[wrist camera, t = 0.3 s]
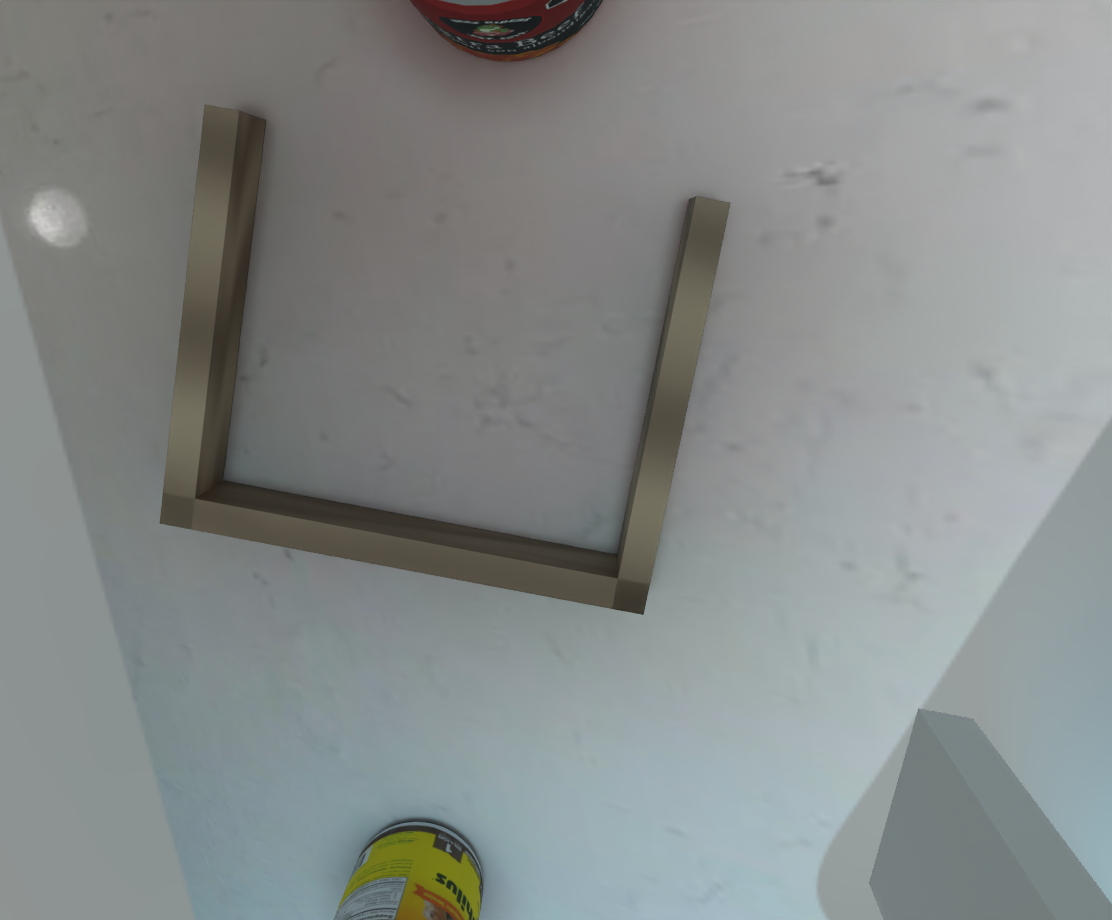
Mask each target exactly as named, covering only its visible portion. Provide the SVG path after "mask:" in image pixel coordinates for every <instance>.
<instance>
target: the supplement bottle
mask: <svg viewBox="0 0 1112 920" xmlns="http://www.w3.org/2000/svg"><path fill="white" fill-rule="evenodd" d="M482 896H483V876H482V871H481V867H480V864H479V862H478V859H477V858H476V856H475V854H474V852H473V851H472V850H471V848H470V847H469V846H468V845H467V843H466V842H465V841H464V840H462V839H461V838H460V837H459V836H458V835H456V834H455V833H453V832H451V831H450V830H448V829H446V828H444V827H441V826H439V825H435V824H431V823H426V822H408V823H402V824H398V825H395V826H392V827H390V828H388V829H386V830H384V831H382V832H381V833H379V834H378V835H377V836H375V837H374V838H373V839H372V840H371V841H370V842H369V843H368V844H367V845H366V847H365V848H364V850H363V851H362V853H361V854H360V856H359V858H358V861H357V863H356V865H355V868H354V870H353V873H352V875H351V878H350V880H349V883H348V885H347V887H346V890H345V892H344V895H343V897H342V900H341V902H340V905H339V907H338V910H337V912H336V915H335V917H334V920H478V919H479V913H480V909H481V902H482Z"/></svg>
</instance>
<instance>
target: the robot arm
mask: <svg viewBox="0 0 1112 920" xmlns="http://www.w3.org/2000/svg"><path fill="white" fill-rule="evenodd" d="M869 884H870V886H871V889H872V891H873V894H874V896H875V899H876V901H877V904H878V906H879V909H880V911H881V914H882V916H883V919H884V920H1112V904H1111V902H1110V901H1109V900H1108V898H1107V897H1106V896H1105V894H1104V893H1103V892H1102V890H1101V889H1100V888H1099V886H1098V885H1097V884H1096V882H1095V881H1094V880H1093V878H1092V877H1091V876H1090V874H1089V873H1088V872H1087V870H1086V869H1085V868H1084V866H1083V865H1082V864H1081V862H1080V861H1079V860H1078V858H1077V857H1076V856H1075V854H1074V853H1073V852H1072V850H1071V849H1070V848H1069V846H1068V845H1067V844H1066V842H1065V841H1064V840H1063V838H1062V837H1061V836H1060V834H1059V833H1058V832H1057V831H1056V829H1055V828H1054V826H1053V825H1052V824H1051V822H1050V821H1049V820H1048V818H1047V817H1046V816H1045V814H1044V813H1043V812H1042V810H1041V809H1040V808H1039V806H1038V805H1037V804H1036V802H1035V801H1034V800H1033V798H1032V797H1031V796H1030V794H1029V793H1028V791H1027V790H1026V789H1025V787H1024V786H1023V785H1022V783H1020V781H1019V779H1018V778H1017V777H1016V776H1015V774H1014V773H1013V772H1012V770H1011V769H1010V768H1009V766H1008V765H1007V764H1006V762H1005V761H1004V759H1003V758H1002V757H1001V755H1000V754H999V753H998V751H997V750H996V749H995V747H994V746H993V745H992V743H991V742H990V741H989V739H988V738H987V737H986V735H985V734H984V733H983V731H982V730H981V729H980V727H979V726H978V725H977V723H976V722H975V721H974V719H971V718H966V717H961V716H956V715H950V714H945V713H940V712H935V711H929V710H924V709H919V708H918V712H917V715H916V719H915V722H914V726H913V729H912V733H911V736H910V740H909V744H908V747H907V751H906V754H905V758H904V761H903V765H902V768H901V772H900V775H899V779H898V782H897V786H896V790H895V793H894V797H893V800H892V804H891V807H890V811H889V814H888V818H887V822H886V825H885V829H884V832H883V836H882V839H881V843H880V846H879V850H878V853H877V857H876V860H875V864H874V868H873V871H872V875H871V878H870V882H869Z"/></svg>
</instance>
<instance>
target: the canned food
mask: <svg viewBox="0 0 1112 920" xmlns="http://www.w3.org/2000/svg"><path fill="white" fill-rule="evenodd" d="M410 1H411V2H412V4H413V5H414V6H415V7H416V8H417V9H418V11H419V12H420V13H421V14H422V15H423V17H424V18H425V19H426V20H427V21H428V22H429V23H430V24H431V26H432V27H433V28H434V29H435V30H436V31H437V32H438V33H439V34H440V35H441V36H442V37H443V38H445V39H446V40H447V41H449V42H450V43H452V44H453V45H454V46H456V47H457V48H459V49H461V50H463V51H465V52H468V53H470V54H472V55H474V56H477V57H481V58H485V59H490V60H495V61H520V60H524V59H529V58H533V57H537V56H540V55H543V54H545V53H547V52H549V51H551V50H553V49H556V48H558V47H559V46H561V45H562V44H564V43H565V42H566V41H568V40H569V39H570V38H572V37H573V36H574V35H576V34H577V33H578V32H579V31H580V30H581V29H582V27H583V26H584V25H585V24H586V23H587V22H588V21H589V20H590V19H591V18H592V16H593V15H594V13H595V12H596V10H597V8H598V7H599V5H600V4H601V2H602V0H410Z"/></svg>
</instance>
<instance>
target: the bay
mask: <svg viewBox="0 0 1112 920" xmlns="http://www.w3.org/2000/svg"><path fill="white" fill-rule="evenodd" d="M265 124H266V120H264V119H261V118H258V117H255V116H252V115H250V114H247V113H244V112H241V111H237V110H232V109H226V108H221V107H216V106H210V105H205V108H204V117H203V127H202V136H201V145H200V154H199V164H198V173H197V182H196V192H195V201H194V210H193V219H192V229H191V238H190V247H189V257H188V266H187V275H186V284H185V294H184V303H183V312H182V321H181V331H180V340H179V349H178V359H177V368H176V377H175V386H174V396H173V405H172V414H171V424H170V433H169V442H168V451H167V461H166V470H165V479H164V489H163V498H162V507H161V516H160V524H165V525H171V526H176V527H181V528H187V529H192V530H197V531H202V532H208V533H213V534H218V535H224V536H229V537H234V538H240V539H245V540H250V541H255V542H261V543H266V544H271V545H277V546H282V547H287V548H293V549H298V550H303V551H308V552H314V553H319V554H324V555H330V556H335V557H340V558H346V559H351V560H356V561H361V562H367V563H372V564H377V565H383V566H388V567H393V568H399V569H404V570H409V571H414V572H420V573H425V574H430V575H436V576H441V577H446V578H452V579H457V580H462V581H467V582H473V583H478V584H483V585H489V586H494V587H499V588H505V589H510V590H515V591H520V592H526V593H531V594H536V595H542V596H547V597H552V598H557V599H563V600H568V601H573V602H579V603H584V604H589V605H595V606H600V607H605V608H610V609H616V610H621V611H626V612H632V613H637V614H642V615H643V614H644V609H645V605H646V600H647V595H648V590H649V586H650V581H651V576H652V572H653V567H654V562H655V557H656V553H657V548H658V543H659V539H660V534H661V529H662V524H663V520H664V515H665V510H666V505H667V501H668V496H669V491H670V487H671V482H672V477H673V472H674V468H675V463H676V458H677V454H678V449H679V444H680V439H681V435H682V430H683V425H684V421H685V416H686V411H687V406H688V402H689V397H690V392H691V387H692V383H693V378H694V373H695V369H696V364H697V359H698V354H699V350H700V345H701V340H702V336H703V331H704V326H705V321H706V317H707V312H708V307H709V302H710V298H711V293H712V288H713V284H714V279H715V274H716V269H717V265H718V260H719V255H720V251H721V246H722V241H723V236H724V232H725V227H726V222H727V217H728V213H729V208H730V203H729V202H724V201H718V200H713V199H708V198H702V197H697V196H696V197H694V198H691V199H689V203H688V208H687V213H686V218H685V223H684V228H683V233H682V238H681V243H680V247H679V252H678V257H677V262H676V267H675V272H674V277H673V282H672V287H671V292H670V297H669V302H668V306H667V311H666V316H665V321H664V326H663V331H662V336H661V341H660V346H659V351H658V356H657V360H656V365H655V370H654V375H653V380H652V385H651V390H650V395H649V400H648V405H647V410H646V414H645V419H644V424H643V429H642V434H641V439H640V444H639V449H638V454H637V459H636V464H635V468H634V473H633V478H632V483H631V488H630V493H629V498H628V503H627V508H626V513H625V518H624V522H623V527H622V532H621V537H620V542H619V547H618V552H617V555H614V554H609V553H604V552H598V551H593V550H588V549H582V548H577V547H572V546H567V545H561V544H556V543H551V542H545V541H540V540H535V539H529V538H524V537H519V536H514V535H508V534H503V533H498V532H492V531H487V530H482V529H476V528H471V527H466V526H460V525H455V524H450V523H445V522H439V521H434V520H429V519H423V518H418V517H413V516H407V515H402V514H397V513H391V512H386V511H381V510H376V509H370V508H365V507H360V506H354V505H349V504H344V503H338V502H333V501H328V500H323V499H317V498H312V497H307V496H301V495H296V494H291V493H285V492H280V491H275V490H269V489H264V488H259V487H254V486H248V485H243V484H238V483H232V482H227V481H223V475H224V467H225V459H226V450H227V442H228V433H229V425H230V417H231V408H232V400H233V392H234V383H235V375H236V367H237V358H238V350H239V342H240V333H241V325H242V317H243V308H244V300H245V292H246V283H247V275H248V266H249V258H250V250H251V241H252V233H253V225H254V216H255V208H256V200H257V191H258V183H259V175H260V166H261V158H262V150H263V141H264V133H265Z"/></svg>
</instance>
